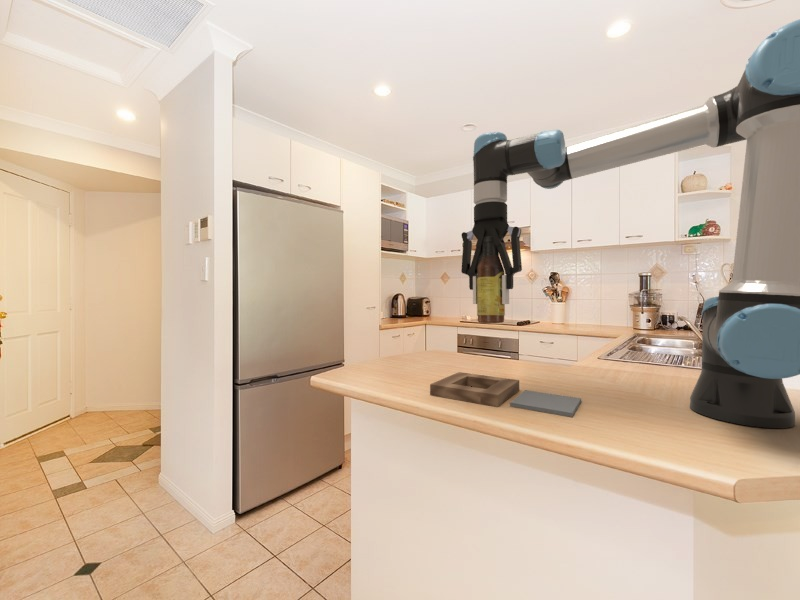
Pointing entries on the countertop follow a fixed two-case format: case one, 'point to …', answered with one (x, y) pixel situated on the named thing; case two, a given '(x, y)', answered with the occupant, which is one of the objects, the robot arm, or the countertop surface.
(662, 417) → the countertop surface
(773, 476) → the countertop surface
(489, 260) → the sauce bottle
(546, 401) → the mat
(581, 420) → the countertop surface
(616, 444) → the countertop surface
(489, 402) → the caddy
